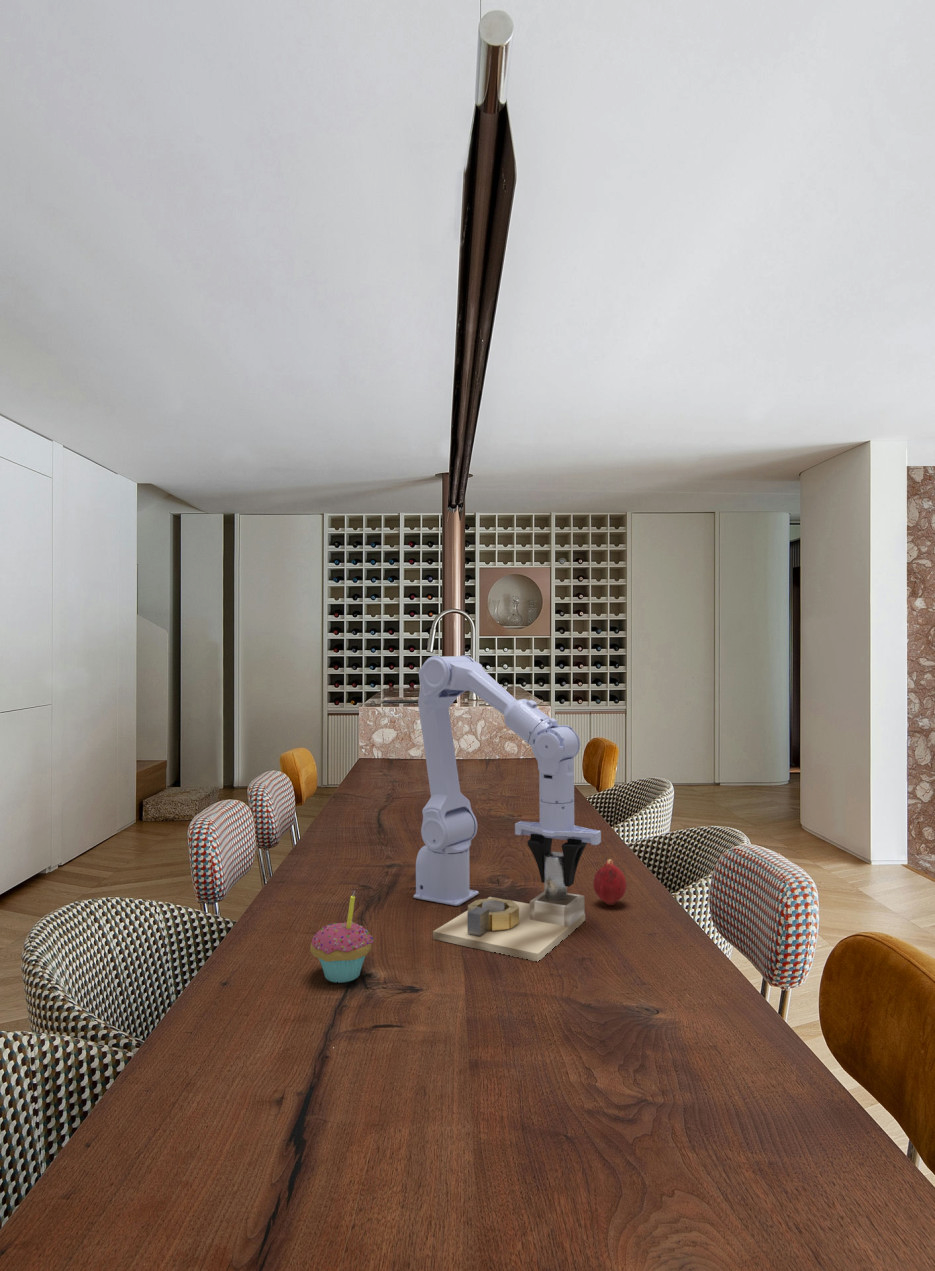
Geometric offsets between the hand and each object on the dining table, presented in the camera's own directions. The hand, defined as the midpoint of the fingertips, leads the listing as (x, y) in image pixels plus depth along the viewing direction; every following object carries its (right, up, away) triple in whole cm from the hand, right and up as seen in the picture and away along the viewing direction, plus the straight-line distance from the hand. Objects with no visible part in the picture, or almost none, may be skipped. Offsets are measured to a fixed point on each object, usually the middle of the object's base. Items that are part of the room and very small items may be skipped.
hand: (557, 882), depth 126 cm
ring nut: (-11, -5, -4) cm, 13 cm away
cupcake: (-32, -7, -20) cm, 38 cm away
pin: (0, -2, -1) cm, 2 cm away
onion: (+10, -7, +9) cm, 15 cm away
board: (-8, -7, -3) cm, 11 cm away
